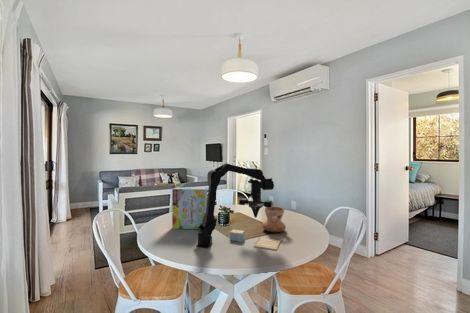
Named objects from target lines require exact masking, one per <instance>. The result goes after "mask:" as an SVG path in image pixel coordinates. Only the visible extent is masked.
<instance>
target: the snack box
mask: <svg viewBox="0 0 470 313" xmlns="http://www.w3.org/2000/svg"><path fill="white" fill-rule="evenodd" d="M171 190H172V191H171V195H172V197H171V198H172V201H171V202H172V203H171V205H172V208H171V209H172V215H171V216H172V217H171V219H172V220H171V222H172V226H171V227H172V228H171V229H172V230H173V229H176V230H178V229H180V230H198V229H197V228H198V227H199V226H200V225H201V224H202V220H203V217H204V215H205V213H206V206H207V197H208V187H193V186H192V187H188V186H187V187H179V186H178V187H174V188H172V189H171Z"/></svg>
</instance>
